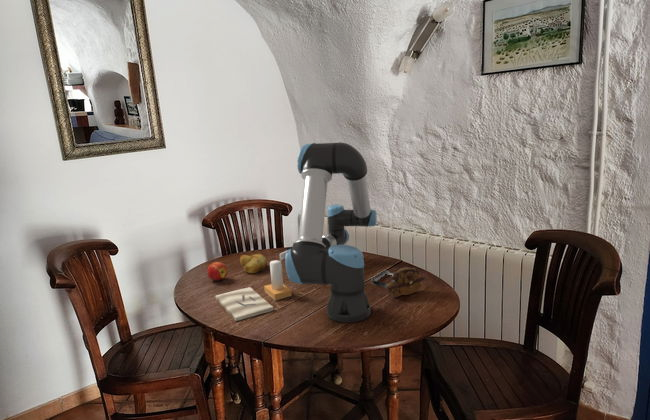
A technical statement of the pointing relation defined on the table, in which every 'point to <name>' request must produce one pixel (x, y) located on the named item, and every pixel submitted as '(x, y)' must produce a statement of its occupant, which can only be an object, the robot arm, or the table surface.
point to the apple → (217, 271)
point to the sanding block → (277, 282)
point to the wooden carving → (405, 282)
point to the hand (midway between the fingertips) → (292, 259)
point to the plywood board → (243, 303)
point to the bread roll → (253, 263)
